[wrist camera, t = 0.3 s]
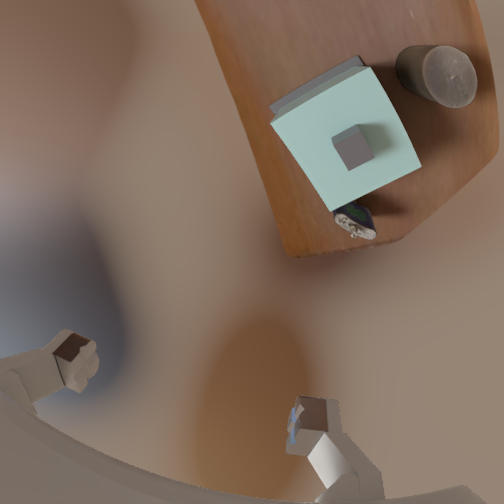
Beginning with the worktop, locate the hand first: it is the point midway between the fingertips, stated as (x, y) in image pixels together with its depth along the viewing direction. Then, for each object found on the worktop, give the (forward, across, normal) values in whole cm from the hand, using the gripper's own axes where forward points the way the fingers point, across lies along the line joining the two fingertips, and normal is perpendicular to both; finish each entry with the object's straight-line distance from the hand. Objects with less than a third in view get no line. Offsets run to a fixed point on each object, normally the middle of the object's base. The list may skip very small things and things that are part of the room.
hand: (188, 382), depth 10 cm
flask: (+52, -17, 0) cm, 55 cm away
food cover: (+47, -10, -15) cm, 50 cm away
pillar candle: (+43, -23, -29) cm, 57 cm away
